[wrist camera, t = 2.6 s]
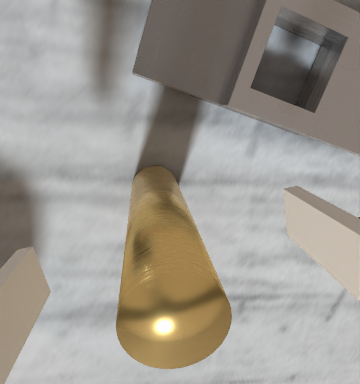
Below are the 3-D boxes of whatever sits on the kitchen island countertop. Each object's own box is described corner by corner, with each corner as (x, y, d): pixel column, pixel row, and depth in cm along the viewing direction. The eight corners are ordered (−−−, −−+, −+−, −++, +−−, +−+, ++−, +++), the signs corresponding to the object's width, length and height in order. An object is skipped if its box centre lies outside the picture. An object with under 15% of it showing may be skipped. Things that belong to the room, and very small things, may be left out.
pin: (126, 171, 23) (101, 290, 8) (172, 161, 23) (222, 260, 9) (138, 213, 24) (132, 380, 9) (180, 203, 24) (238, 352, 10)
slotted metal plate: (133, 74, 21) (131, 69, 18) (168, -53, 19) (172, -81, 16) (363, 158, 25) (392, 166, 22) (411, 62, 23) (449, 57, 20)
